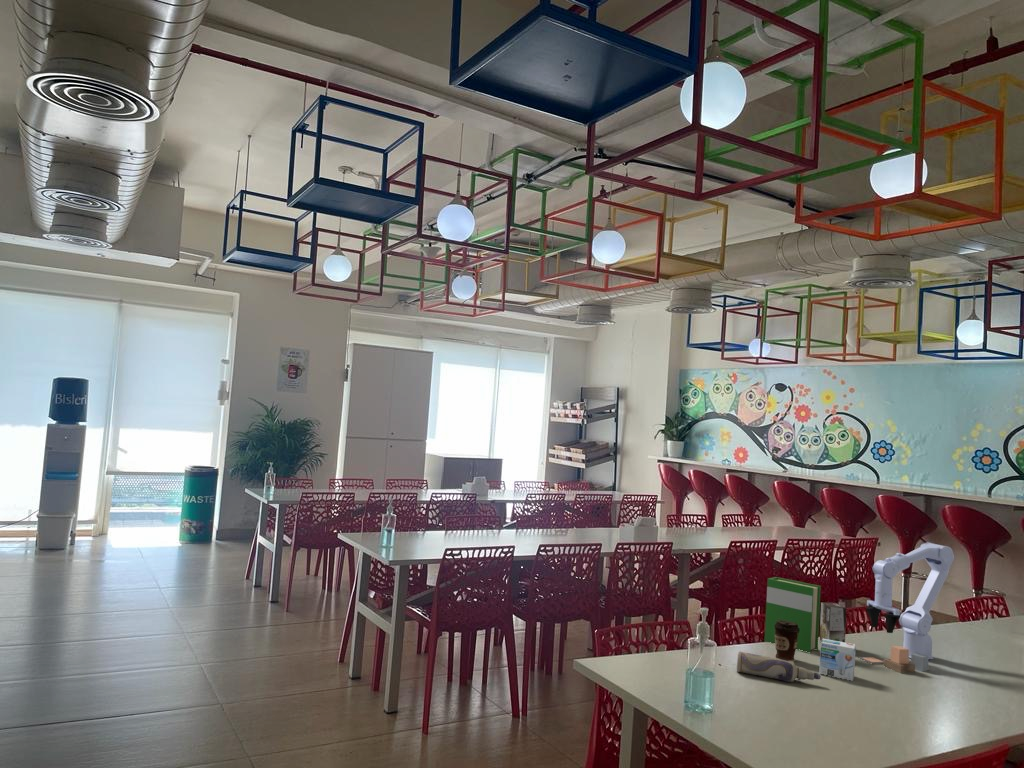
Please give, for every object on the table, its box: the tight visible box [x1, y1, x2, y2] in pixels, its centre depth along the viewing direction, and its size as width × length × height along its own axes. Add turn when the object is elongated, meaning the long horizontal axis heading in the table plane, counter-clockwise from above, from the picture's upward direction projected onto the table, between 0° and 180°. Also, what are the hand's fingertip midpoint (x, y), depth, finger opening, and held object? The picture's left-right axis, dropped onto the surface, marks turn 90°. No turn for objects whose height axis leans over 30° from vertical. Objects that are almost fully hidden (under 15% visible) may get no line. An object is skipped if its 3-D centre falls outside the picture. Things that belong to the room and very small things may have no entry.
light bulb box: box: [818, 638, 856, 682], centre depth 246 cm, size 11×7×11 cm, turn 62°
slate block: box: [910, 653, 929, 672], centre depth 260 cm, size 4×4×5 cm
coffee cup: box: [774, 620, 800, 662], centre depth 260 cm, size 9×8×13 cm
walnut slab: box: [882, 658, 916, 674], centre depth 258 cm, size 7×7×3 cm
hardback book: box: [763, 576, 822, 653], centre depth 280 cm, size 18×7×24 cm, turn 45°
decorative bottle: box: [736, 651, 822, 683], centre depth 237 cm, size 26×8×7 cm, turn 69°
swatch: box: [857, 656, 884, 665], centre depth 266 cm, size 7×7×1 cm
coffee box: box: [819, 601, 847, 644], centre depth 282 cm, size 9×6×16 cm
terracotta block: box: [889, 645, 909, 664], centre depth 258 cm, size 4×4×5 cm
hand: (882, 629), depth 273 cm, fingers open, 7 cm apart
